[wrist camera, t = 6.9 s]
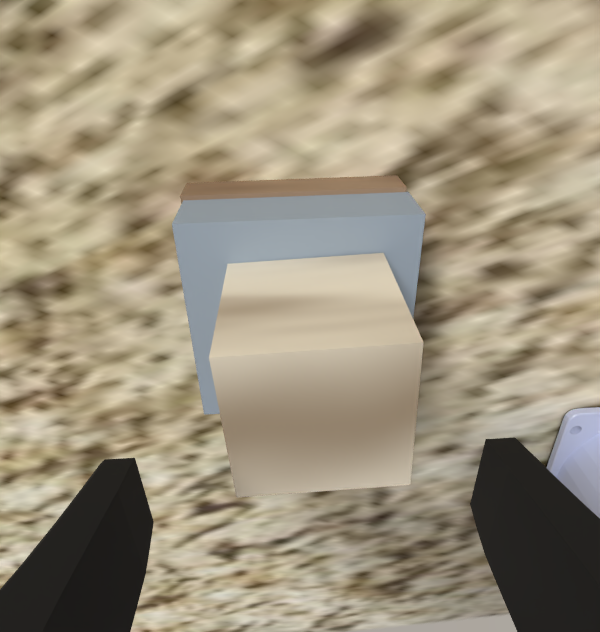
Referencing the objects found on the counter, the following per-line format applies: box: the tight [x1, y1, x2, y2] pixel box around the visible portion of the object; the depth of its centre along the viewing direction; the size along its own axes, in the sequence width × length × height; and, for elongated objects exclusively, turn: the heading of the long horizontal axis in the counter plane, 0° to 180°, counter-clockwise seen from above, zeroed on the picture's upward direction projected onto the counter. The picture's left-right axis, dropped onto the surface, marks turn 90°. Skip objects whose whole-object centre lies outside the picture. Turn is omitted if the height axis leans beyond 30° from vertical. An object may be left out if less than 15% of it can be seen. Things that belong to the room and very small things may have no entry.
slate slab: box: [172, 192, 426, 414], centre depth 16 cm, size 7×7×2 cm
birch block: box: [209, 253, 424, 497], centre depth 13 cm, size 4×4×4 cm
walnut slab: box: [180, 175, 406, 204], centre depth 18 cm, size 7×7×2 cm
